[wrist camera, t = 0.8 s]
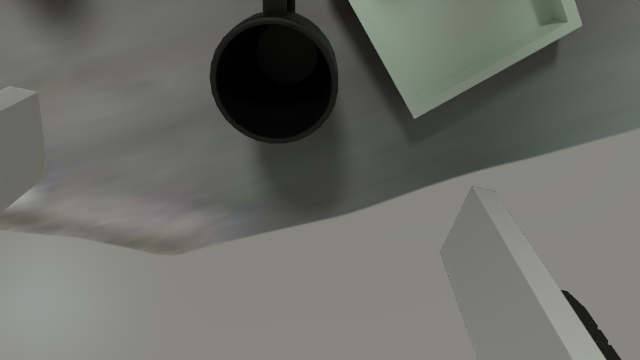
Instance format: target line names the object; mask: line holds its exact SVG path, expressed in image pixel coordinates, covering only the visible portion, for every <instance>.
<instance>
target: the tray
mask: <svg viewBox="0 0 640 360" xmlns="http://www.w3.org/2000/svg"><path fill="white" fill-rule="evenodd" d="M349 2H350V4H351V6H352V8H353V9H354V11H355V13H356V15H357V17H358V18H359V20H360V22H361V24H362V26H363V27H364V29H365V31H366V33H367V35H368V36H369V38H370V40H371V42H372V44H373V45H374V47H375V49H376V51H377V53H378V54H379V56H380V58H381V60H382V62H383V63H384V65H385V67H386V69H387V71H388V72H389V74H390V76H391V78H392V80H393V81H394V83H395V85H396V87H397V89H398V90H399V92H400V94H401V96H402V98H403V99H404V101H405V103H406V105H407V107H408V108H409V110H410V112H411V114H412V116H413V117H414V119H416V118H417V117H419V116H421V115H423V114H425V113H426V112H428V111H430V110H432V109H433V108H435V107H437V106H439V105H441V104H442V103H444V102H446V101H448V100H450V99H451V98H453V97H455V96H457V95H459V94H460V93H462V92H464V91H466V90H468V89H469V88H471V87H473V86H475V85H477V84H478V83H480V82H482V81H484V80H486V79H487V78H489V77H491V76H493V75H495V74H496V73H498V72H500V71H502V70H504V69H505V68H507V67H509V66H511V65H513V64H514V63H516V62H518V61H520V60H522V59H523V58H525V57H527V56H529V55H531V54H532V53H534V52H536V51H538V50H540V49H541V48H543V47H545V46H547V45H548V44H550V43H552V42H554V41H556V40H557V39H559V38H561V37H563V36H565V35H566V34H568V33H570V32H572V31H574V30H575V29H577V28H579V27H581V26H583V25H582V22H581V19H580V16H579V13H578V10H577V6H576V3H575V0H349Z"/></svg>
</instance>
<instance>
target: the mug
mask: <svg viewBox="0 0 640 360" xmlns="http://www.w3.org/2000/svg"><path fill="white" fill-rule="evenodd" d="M210 83H211V90H212V94H213V97H214V99H215V102H216V105H217V107H218V108H219V110H220V112H221V113H222V115H223V116H224V118H225V119H226V120H227V121H228V122H229V123H230V124H231V125H232V126H233V127H234V128H235V129H237V130H238V131H240V132H241V133H243V134H244V135H246V136H248V137H250V138H253V139H255V140H257V141H261V142H266V143H289V142H293V141H298V140H300V139H302V138H304V137H306V136H308V135H310V134H312V133H313V132H314V131H315V130H317V129H318V128H319V127H321V125H322V124H323V123H324V122H325V121H326V119H327V118H328V117H329V115H330V113H331V111H332V109H333V107H334V105H335V102H336V97H337V93H338V69H337V63H336V59H335V54H334V51H333V49H332V47H331V45H330V43H329V40H328V39H327V38H326V36H325V35H324V34H323V32H322V31H321V30H320V29H319V27H317V26H316V25H315V24H314V23H312V22H311V21H310V20H309V19H307V18H305V17H303V16H301V15H299V14H297V13H295V0H263V12H261V13H258V14H255V15H253V16H251V17H249V18H247V19H245V20H244V21H242V22H241V23H239V24H238V25H237V26H235V27H234V28H233V29H232V30H231V31H230V32H229V33H228V34H227V35H226V36H224V37H223V39H222V41H221V42H220V44H219V45H218V47H217V48H216V50H215V53H214V56H213V59H212V62H211V69H210Z"/></svg>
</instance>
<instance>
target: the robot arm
mask: <svg viewBox="0 0 640 360" xmlns="http://www.w3.org/2000/svg"><path fill="white" fill-rule="evenodd" d="M46 175H47V165H46V157H45V148H44V140H43V131H42V123H41V114H40V106H39V97H38V92H35V91H31V90H26V89H22V88H17V87H12V86H8V87H6V88H4V89H2V90H0V213H1V212H2V211H4V210H5V209H6V208H7V207H8V206H10V205H11V204H12V203H13V202H15V201H16V200H17V199H18V198H19V197H21V196H22V195H23V194H24V193H26V192H27V191H28V190H29V189H30V188H32V187H33V186H34V185H35V184H36V183H38V182H39V181H40V180H41V179H43V178H44V177H45V176H46ZM440 254H441V257H442V259H443V262H444V265H445V268H446V271H447V274H448V277H449V280H450V282H451V285H452V288H453V291H454V294H455V296H456V299H457V302H458V305H459V308H460V311H461V314H462V316H463V319H464V322H465V325H466V328H467V331H468V334H469V336H470V339H471V342H472V345H473V348H474V351H475V354H476V356H477V359H478V360H621V359H620V357H619V356H618V355H617V353H616V352H615V350H614V349H613V347H612V346H611V345H608V340H607V339H606V337H605V336H604V334H603V333H602V331H601V330H599V329H598V328H597V327H598V326H597V324H596V323H595V321H594V320H593V319H592V317H591V316H590V314H589V313H588V311H587V310H586V308H585V307H584V306H582V305H581V304H580V303H579V302H578V301H577V300H576V299H575V298H574V297H573V296H572V295H571V294H570V293H568V292H567V291H563V290H560V289H559V287H558V286H557V284H556V283H555V281H554V280H553V278H552V277H551V275H550V274H549V272H548V271H547V269H546V268H545V266H544V265H543V263H542V261H541V260H540V259H539V257H538V256H537V254H536V253H535V251H534V249H533V248H532V246H531V245H530V243H529V242H528V240H527V239H526V237H525V236H524V234H523V233H522V231H521V230H520V228H519V227H518V225H517V224H516V222H515V221H514V219H513V217H512V216H511V214H510V213H509V211H508V210H507V208H506V207H505V205H504V204H503V202H502V201H501V199H500V198H499V196H498V195H497V193H496V192H495V191H492V190H488V189H483V188H478V187H474V186H472V188H471V190H470V192H469V194H468V196H467V198H466V200H465V202H464V204H463V206H462V208H461V211H460V213H459V215H458V217H457V219H456V221H455V223H454V225H453V227H452V229H451V231H450V233H449V235H448V237H447V239H446V241H445V243H444V245H443V248H442V250H441V252H440Z"/></svg>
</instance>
